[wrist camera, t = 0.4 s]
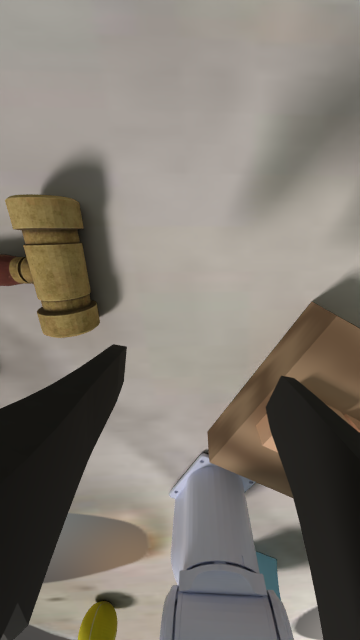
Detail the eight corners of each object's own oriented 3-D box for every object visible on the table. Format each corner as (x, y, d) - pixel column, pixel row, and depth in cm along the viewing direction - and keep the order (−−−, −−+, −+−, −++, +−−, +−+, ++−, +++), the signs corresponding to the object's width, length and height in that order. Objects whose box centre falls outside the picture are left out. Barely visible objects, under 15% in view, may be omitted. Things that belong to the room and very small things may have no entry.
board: (292, 469, 26) (306, 503, 23) (207, 431, 25) (209, 462, 22) (417, 360, 20) (461, 385, 17) (311, 301, 19) (337, 316, 15)
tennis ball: (82, 601, 45) (64, 662, 39) (98, 591, 43) (81, 654, 37) (111, 612, 47) (97, 674, 40) (127, 603, 44) (116, 667, 38)
